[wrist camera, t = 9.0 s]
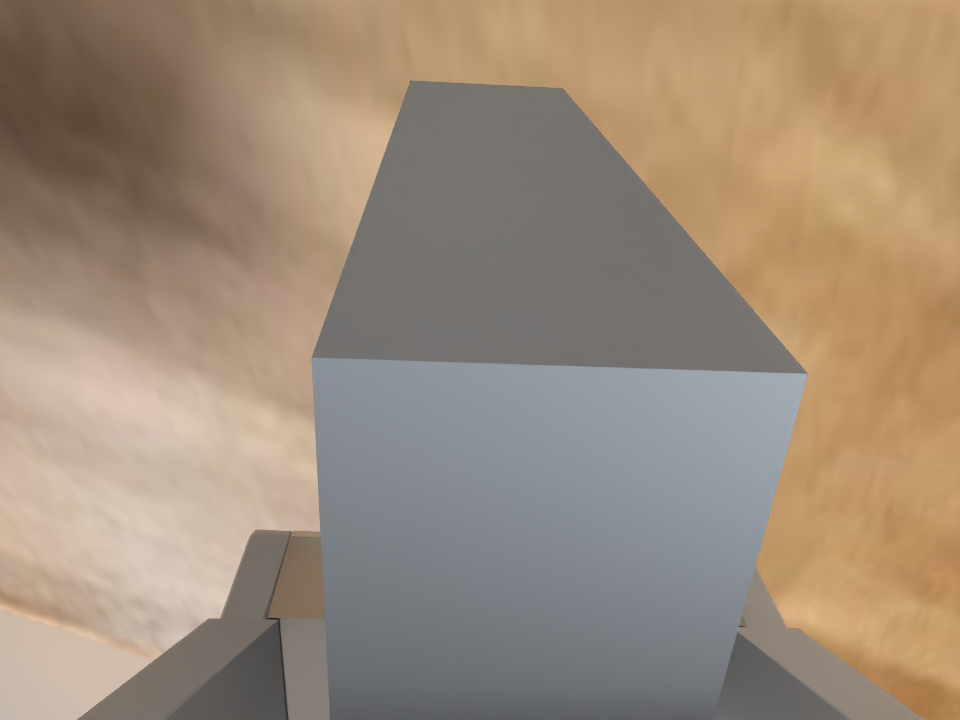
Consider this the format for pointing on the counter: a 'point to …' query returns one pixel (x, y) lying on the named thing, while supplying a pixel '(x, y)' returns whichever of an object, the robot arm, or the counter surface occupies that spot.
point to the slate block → (536, 430)
